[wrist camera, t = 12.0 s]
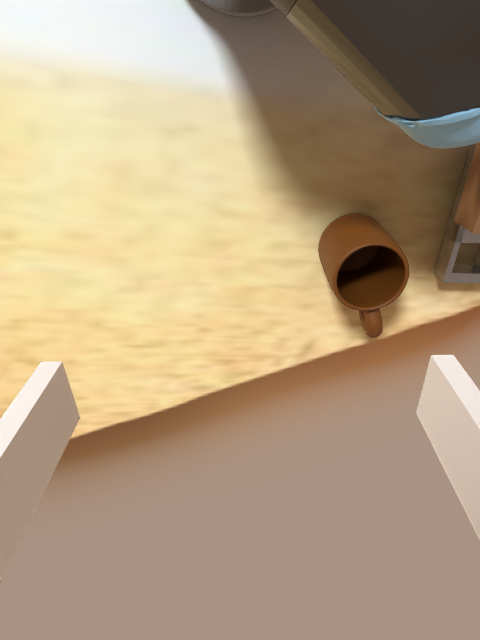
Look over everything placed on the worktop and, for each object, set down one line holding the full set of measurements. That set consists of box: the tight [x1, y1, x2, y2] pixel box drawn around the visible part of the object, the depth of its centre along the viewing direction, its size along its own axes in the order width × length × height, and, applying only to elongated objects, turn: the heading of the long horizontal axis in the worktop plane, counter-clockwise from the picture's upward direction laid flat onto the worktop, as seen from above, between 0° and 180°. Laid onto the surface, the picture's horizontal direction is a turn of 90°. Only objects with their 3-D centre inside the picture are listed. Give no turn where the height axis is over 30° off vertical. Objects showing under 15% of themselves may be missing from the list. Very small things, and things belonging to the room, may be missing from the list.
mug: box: [318, 214, 409, 337], centre depth 44 cm, size 12×8×9 cm, turn 15°
